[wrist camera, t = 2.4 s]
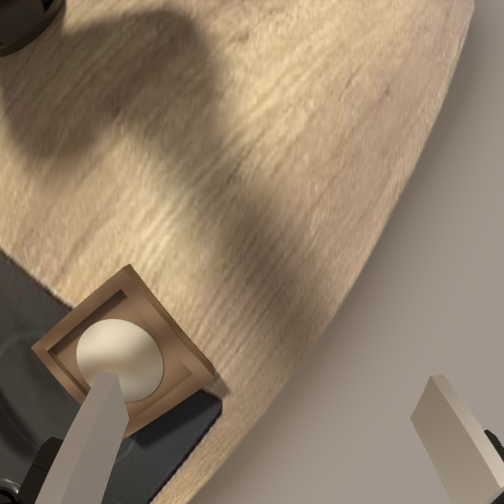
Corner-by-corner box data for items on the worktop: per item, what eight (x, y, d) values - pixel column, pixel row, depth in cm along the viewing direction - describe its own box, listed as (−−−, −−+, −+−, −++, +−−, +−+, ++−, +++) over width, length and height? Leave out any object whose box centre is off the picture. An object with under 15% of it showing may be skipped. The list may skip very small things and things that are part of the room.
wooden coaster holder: (44, 337, 32) (31, 347, 28) (129, 263, 34) (122, 267, 30) (123, 424, 34) (119, 442, 31) (212, 363, 36) (215, 378, 32)
